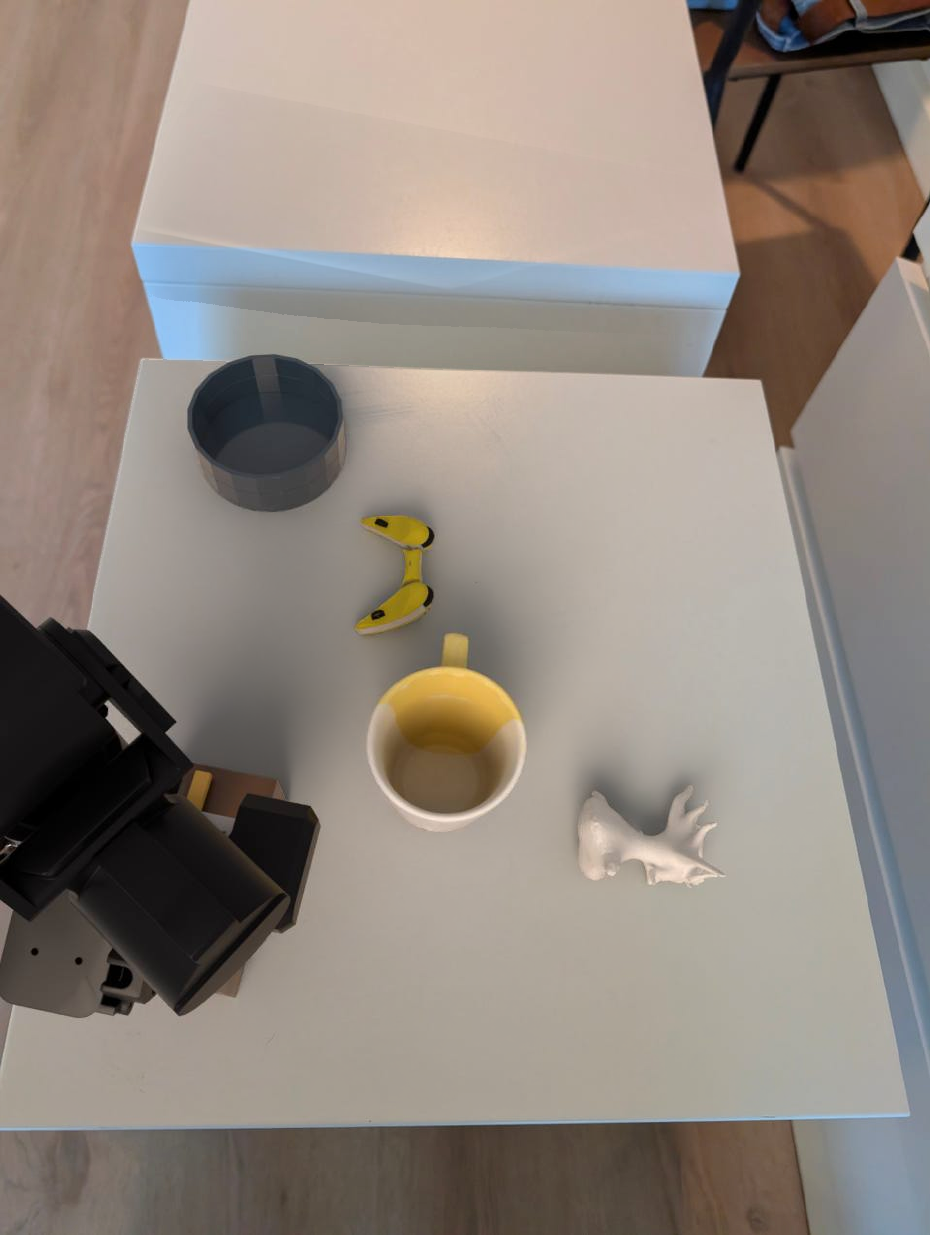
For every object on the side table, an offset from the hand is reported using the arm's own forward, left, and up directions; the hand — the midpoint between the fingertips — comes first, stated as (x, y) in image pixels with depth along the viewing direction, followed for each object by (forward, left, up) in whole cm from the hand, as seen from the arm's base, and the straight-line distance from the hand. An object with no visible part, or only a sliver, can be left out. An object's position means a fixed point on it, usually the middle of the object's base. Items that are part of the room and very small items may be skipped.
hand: (164, 863), depth 54 cm
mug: (+15, +12, -10) cm, 22 cm away
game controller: (+8, +26, -10) cm, 29 cm away
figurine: (+30, +9, -10) cm, 33 cm away
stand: (0, 0, -10) cm, 10 cm away
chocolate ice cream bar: (0, +2, -3) cm, 3 cm away
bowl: (-5, +36, -10) cm, 38 cm away
